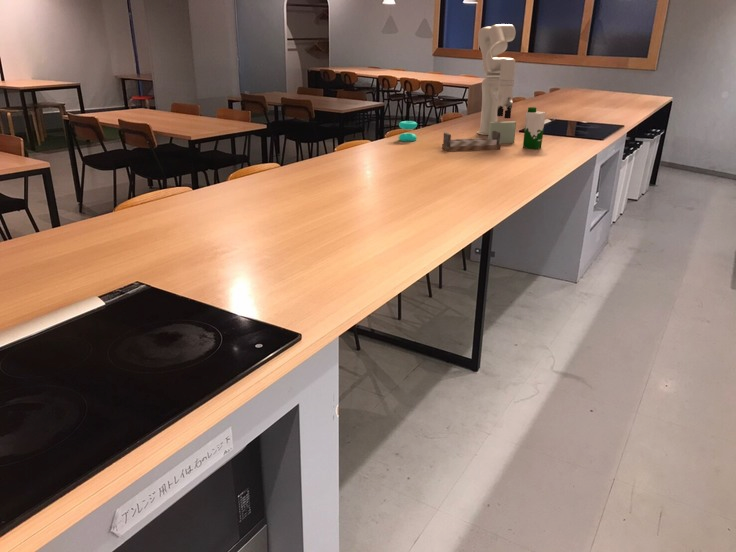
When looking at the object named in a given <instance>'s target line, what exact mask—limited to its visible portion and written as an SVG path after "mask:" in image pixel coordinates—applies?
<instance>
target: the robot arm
mask: <svg viewBox="0 0 736 552" xmlns="http://www.w3.org/2000/svg"><path fill="white" fill-rule="evenodd" d="M516 32H517V31H516V28H515V26H514V25H513V24H510V23H508V24H507V23H506V24H505V23H501V24H500V23H498V24H493V25H491V26H484V27H482V28H480V29H479V30H478V32H477V33H478V34H477V38H478V39H477V40H478V42H477V43H478V45H479V46H478V47H479V48H480V51H481V55H482V57H481V58H482V68H483V70H482V72H483V74H484V76H486V77H485V78H484V79H482V82H481V96H482V98H481V112H480V113H481V114H480V127H479V130H477V131H476V133H477V134H478V135H483V136H488V134H489V122H498V117H503V116H504V119H511V115H512V109H513V103H514V102H513V96H514V95H513V92H514V89H513V88H514V85H515V84H514V83H515V72H516V71H515V70H516V59H514V58H512V57H498V55H500V54H501V55H502V54H503V53H504V52H506V50H507V49H508V43H509V42H513V40H515V38H516ZM504 108H505V110H504Z"/></svg>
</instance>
